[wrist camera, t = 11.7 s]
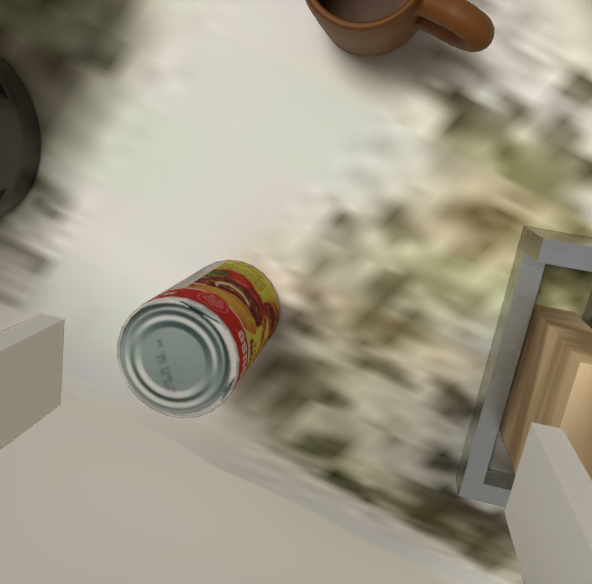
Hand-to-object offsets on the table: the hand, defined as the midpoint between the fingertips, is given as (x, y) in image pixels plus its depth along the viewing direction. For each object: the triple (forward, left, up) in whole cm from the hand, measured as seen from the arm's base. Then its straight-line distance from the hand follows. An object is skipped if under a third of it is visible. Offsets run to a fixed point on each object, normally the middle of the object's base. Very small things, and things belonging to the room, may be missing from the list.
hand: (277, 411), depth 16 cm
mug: (0, +16, -29) cm, 33 cm away
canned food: (-9, -7, -29) cm, 31 cm away
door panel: (+15, -7, -29) cm, 33 cm away
